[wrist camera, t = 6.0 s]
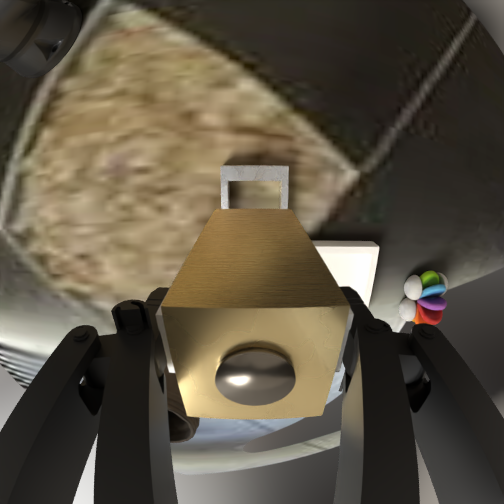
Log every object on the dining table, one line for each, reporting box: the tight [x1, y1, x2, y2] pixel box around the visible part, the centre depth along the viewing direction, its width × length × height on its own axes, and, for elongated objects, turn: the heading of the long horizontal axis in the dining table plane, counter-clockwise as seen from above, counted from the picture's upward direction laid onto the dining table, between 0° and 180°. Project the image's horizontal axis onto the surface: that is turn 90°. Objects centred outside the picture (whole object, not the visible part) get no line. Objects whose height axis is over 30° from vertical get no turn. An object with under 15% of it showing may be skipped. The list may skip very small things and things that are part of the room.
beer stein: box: [164, 363, 200, 443], centre depth 34 cm, size 15×10×20 cm
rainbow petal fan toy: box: [399, 270, 448, 325], centre depth 37 cm, size 8×10×7 cm
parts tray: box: [311, 240, 379, 307], centre depth 38 cm, size 12×12×2 cm
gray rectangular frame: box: [221, 165, 289, 209], centre depth 36 cm, size 20×8×2 cm, turn 0°
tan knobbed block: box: [161, 209, 350, 419], centre depth 13 cm, size 5×5×12 cm
